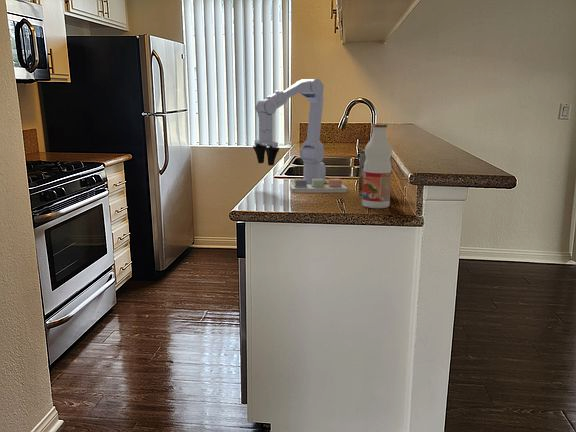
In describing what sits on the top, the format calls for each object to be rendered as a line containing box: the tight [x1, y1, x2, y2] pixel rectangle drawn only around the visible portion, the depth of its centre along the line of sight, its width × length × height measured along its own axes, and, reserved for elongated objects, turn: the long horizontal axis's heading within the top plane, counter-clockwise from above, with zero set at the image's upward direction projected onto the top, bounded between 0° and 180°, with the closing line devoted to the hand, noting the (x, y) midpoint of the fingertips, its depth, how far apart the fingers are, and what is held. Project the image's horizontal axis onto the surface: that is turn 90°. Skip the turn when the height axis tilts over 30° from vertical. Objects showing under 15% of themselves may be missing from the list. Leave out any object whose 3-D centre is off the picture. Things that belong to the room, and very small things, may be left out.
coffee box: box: [358, 151, 366, 196], centre depth 198 cm, size 9×6×16 cm
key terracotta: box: [328, 178, 343, 186], centre depth 208 cm, size 4×4×2 cm
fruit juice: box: [361, 123, 393, 209], centre depth 175 cm, size 9×9×28 cm
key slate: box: [294, 178, 308, 186], centre depth 206 cm, size 4×4×2 cm
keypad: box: [289, 183, 348, 194], centre depth 208 cm, size 22×10×2 cm, turn 95°
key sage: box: [312, 179, 325, 186], centre depth 207 cm, size 4×4×2 cm
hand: (265, 164), depth 208 cm, fingers open, 7 cm apart
